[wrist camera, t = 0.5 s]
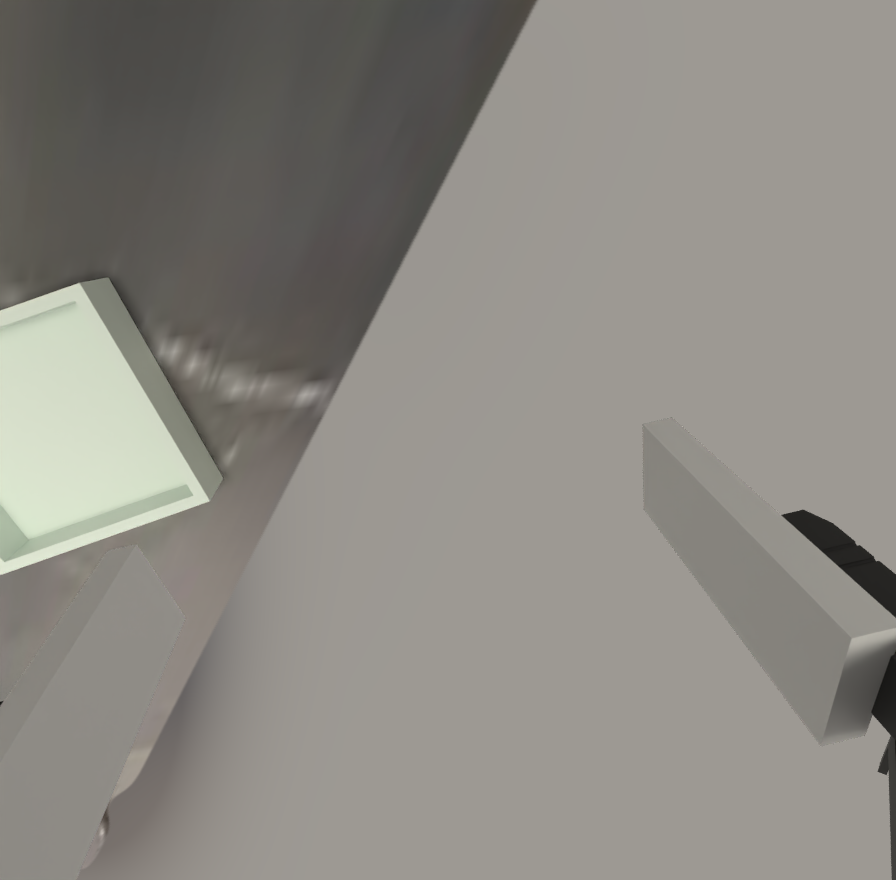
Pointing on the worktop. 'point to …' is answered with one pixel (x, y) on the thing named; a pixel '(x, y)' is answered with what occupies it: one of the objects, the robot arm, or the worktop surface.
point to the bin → (87, 428)
